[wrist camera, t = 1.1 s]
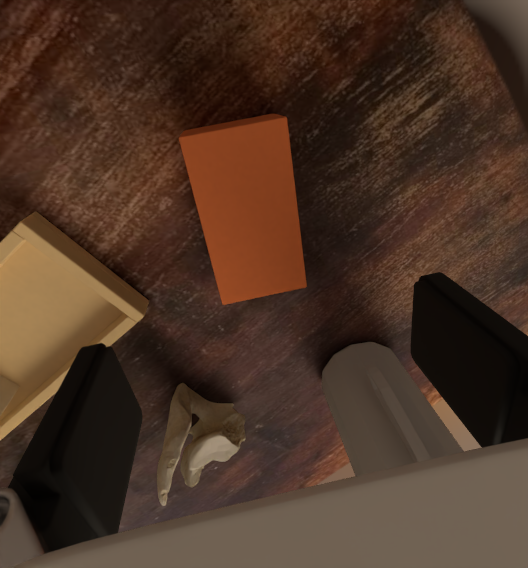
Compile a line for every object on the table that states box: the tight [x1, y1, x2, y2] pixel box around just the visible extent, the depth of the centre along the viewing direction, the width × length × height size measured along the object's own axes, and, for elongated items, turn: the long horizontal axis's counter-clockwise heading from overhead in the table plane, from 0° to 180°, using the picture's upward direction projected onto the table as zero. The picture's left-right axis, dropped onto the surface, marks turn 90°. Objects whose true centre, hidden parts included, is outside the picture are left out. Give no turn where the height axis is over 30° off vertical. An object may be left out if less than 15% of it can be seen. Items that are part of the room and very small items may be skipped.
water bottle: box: [322, 342, 464, 476], centre depth 20 cm, size 9×8×25 cm
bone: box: [157, 383, 246, 506], centre depth 28 cm, size 9×6×10 cm
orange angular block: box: [179, 113, 307, 305], centre depth 21 cm, size 10×6×4 cm, turn 9°
